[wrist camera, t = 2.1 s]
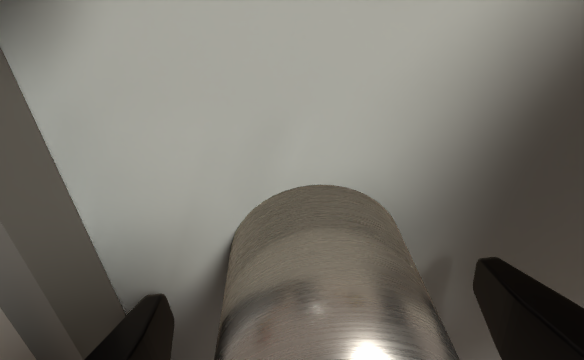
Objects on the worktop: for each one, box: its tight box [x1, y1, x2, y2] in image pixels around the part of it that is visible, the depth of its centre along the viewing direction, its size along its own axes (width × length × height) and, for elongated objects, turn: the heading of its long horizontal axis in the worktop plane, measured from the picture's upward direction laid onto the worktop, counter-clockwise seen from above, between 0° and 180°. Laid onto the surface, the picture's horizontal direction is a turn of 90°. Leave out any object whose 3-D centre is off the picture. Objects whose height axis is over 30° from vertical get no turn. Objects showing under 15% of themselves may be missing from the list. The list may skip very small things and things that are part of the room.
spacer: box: [214, 185, 459, 360], centre depth 8 cm, size 4×4×5 cm
